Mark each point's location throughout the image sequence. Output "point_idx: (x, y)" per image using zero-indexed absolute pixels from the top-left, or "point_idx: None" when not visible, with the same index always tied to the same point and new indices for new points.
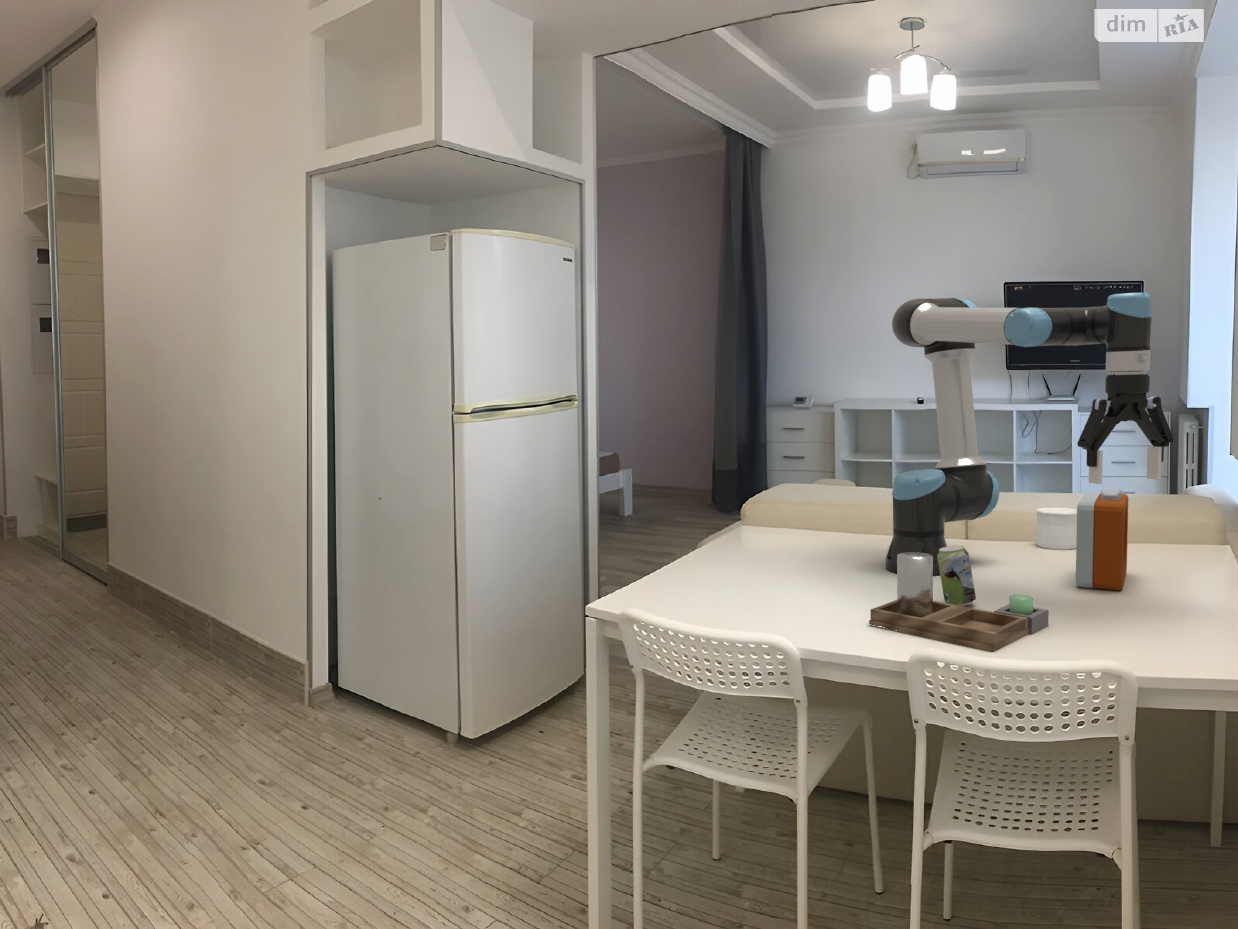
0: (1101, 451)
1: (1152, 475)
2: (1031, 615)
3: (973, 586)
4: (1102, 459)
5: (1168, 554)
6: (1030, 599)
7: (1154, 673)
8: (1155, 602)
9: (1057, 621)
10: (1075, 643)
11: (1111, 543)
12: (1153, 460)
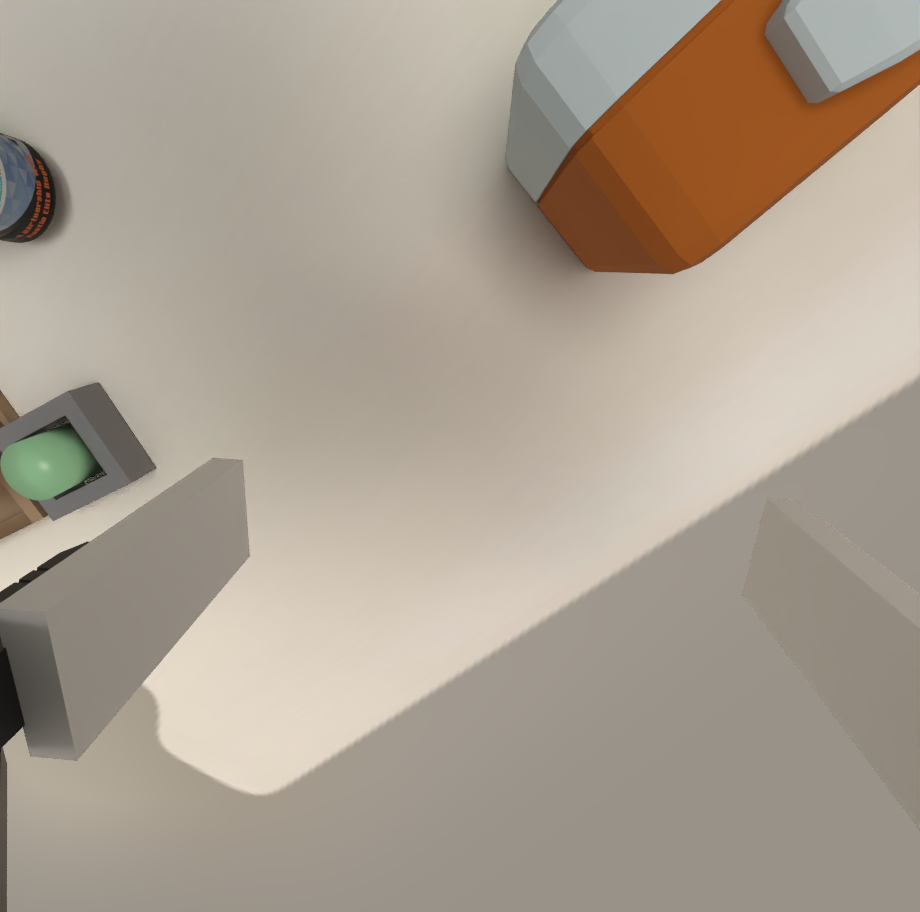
0: (64, 751)
1: (765, 566)
2: (62, 504)
3: (5, 222)
4: (139, 683)
5: None
6: (44, 499)
7: (168, 747)
8: (576, 407)
9: (201, 446)
10: None
11: (598, 242)
12: (840, 652)
